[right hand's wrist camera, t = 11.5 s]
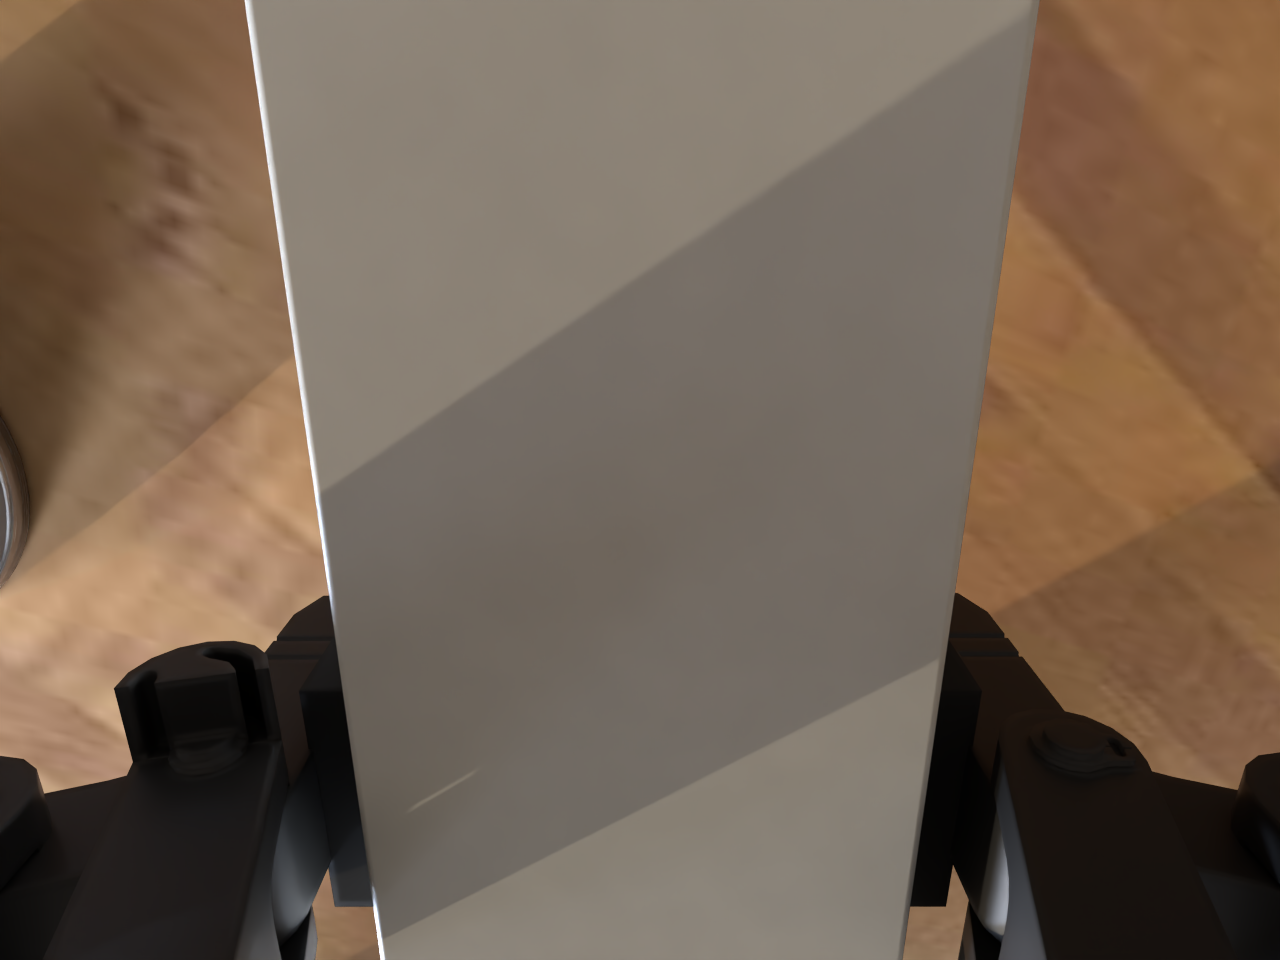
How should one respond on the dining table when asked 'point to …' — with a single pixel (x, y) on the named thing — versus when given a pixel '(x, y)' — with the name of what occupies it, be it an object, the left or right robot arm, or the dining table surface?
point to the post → (641, 446)
